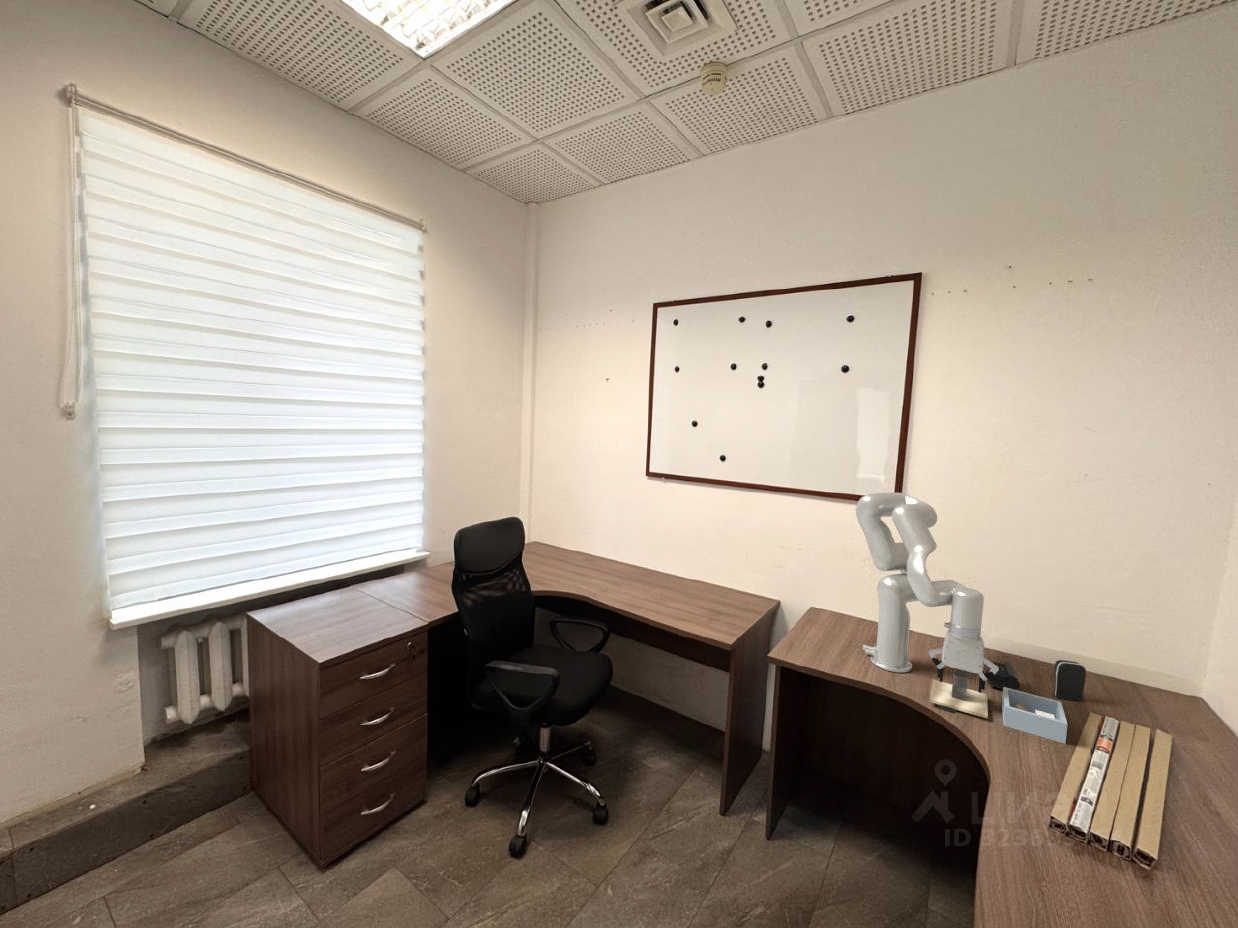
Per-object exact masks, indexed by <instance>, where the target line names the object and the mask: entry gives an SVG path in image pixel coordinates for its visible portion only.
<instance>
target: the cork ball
mask: <svg viewBox="0 0 1238 928" xmlns="http://www.w3.org/2000/svg"><path fill="white" fill-rule="evenodd" d="M1014 708H1017V709H1020V710H1024V711H1027V709H1026V708H1025V707H1024V706H1022V705H1015V706H1014Z"/></svg>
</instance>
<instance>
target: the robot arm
mask: <svg viewBox="0 0 1238 928" xmlns="http://www.w3.org/2000/svg"><path fill="white" fill-rule="evenodd" d="M855 507H856V508H855V514H856V519H857V521H858V524H859V526H860V528H861V530H862V532H863V534H864V537H865V540H866V543H867V547H868V549H869V553H870V556H871V559H872V560H873V561H872V562H873V564H874V566H875V567H876V569H877V570H879V571H882V572H893V571H899V573H896V574H895V573H894V574H888V575H886V576H883V577H881V578H880V579H879V581H878V583H877V589H876V590H877V595H878V596H877V597H878V622H877V626H878V627H877V639H876V645H875V646H870V645H867V644H862V651H864V653H865V654H868V655H869V654H870V655H871V656H870V661H871V663H872V664H873V665H875V666H876V667H878V668H880V669H883V670H885V671H887V672H892V673H901V674H902V673H909V672H910V671H912V669H913V664H912V662H911V661H910V660H909V659H908V657H909V656H908V653H909V641H910V629H911V628H910V627H911V614H910V612H909V608H908V606H907V603H912V602H920V603H921V604H922V605H923V606H925V607H928V608H938V607H939V608H940V607H945V606H946V607H947V606H948V607H949V606H951V611H950V621H949V622H944V624H943V625H944V628H947V631H946V632H945V636H944V639H943V646H942V647H939V648H934V649H933V648H932V649H929V650H928V651H927V653H928V655H929V657H930V660H931V662H932V663H933V664H934V665H935V666H936V667H937V674H936V678H939V681H940V682H944V681H943V680H944V669H945V666H946V667H948V668H951V669H956V670H960V671H964V672H969V673H972V674H978V677H979V679H978V690H977V691H978V692H979V693H982V692H983V691H985V689H986V681H988V680H987V679H989V678H991V677H993V676H994V674H996V672H997V671H998V670H999V667H998V666H996V665H995V664H993V663H992V662H993V661H991V660H989V659H987V658H986V657H985V642H984V638H983V637H982V636H981V633H982V624H983V623H982V622H983V614H984V613H983V611H984V600H985V598H984V597H985V596H984V594H983V592H981V591H979V590H977V589H975V588H969V587H967V586H965V585H963V584H962V583H960V582H958V581H956V580H953V579H943V580H942V579H941V580H931V578H930V576H929V574H928V571H927V569H926V561H927V558H928V557H929V556H930V554H932V553H933V552H934V551H936V550H937V548H938V546H937V543H936V541H935V539H934V537H933V535H932V533H931V532H930V529H929V528H932V527H934V526H935V525H937V522H938V514H937V512H936V510H935V509H934V507H932V506H931V505H930V504H928V503H927V502H924V501H922V500H920V499H918V498H915V497H913V496H910V495H908V494H906V493H902V492H873V493H868V494H866V495H863V496H862V497H861V498H860V499H859V500H858V502H857V504H856V506H855ZM885 517H886V518H889V517H891V519H892V522H893V524H894V526H895V528H896V530H897V532H898V533H899V536H900V538H901V541H902V542H896V541H895V540H894V537H893V534H892V531H891V529H890V527H889V526H888V525H887V524H886V522H884V520H882V519H881V518H885ZM939 654H941V659H940V660H939V659H938V658H937V656H936V655H939ZM984 665H985V666H987V667H988V668H990V669H989V670H990V671H988V670H987V671H984Z"/></svg>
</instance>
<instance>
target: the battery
mask: <svg viewBox="0 0 1238 928" xmlns="http://www.w3.org/2000/svg"><path fill="white" fill-rule="evenodd" d="M1053 675H1054V677H1055V679H1054V681H1055V682H1054V684H1055V685H1054V688H1053V695H1054V696H1055V698H1057V699H1062V700H1063V699H1064V700H1067V701H1068V700H1070V701H1074V702H1075V701H1076V702H1083V698H1084V690H1085V685H1086V684H1085V683H1086V678H1087V669H1086V668H1085V666H1084V665H1082V664H1081V663H1079V662H1076V661H1073V660H1072V661H1070V660H1064V659H1058V660H1057V661H1055V663H1054V668H1053Z"/></svg>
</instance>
